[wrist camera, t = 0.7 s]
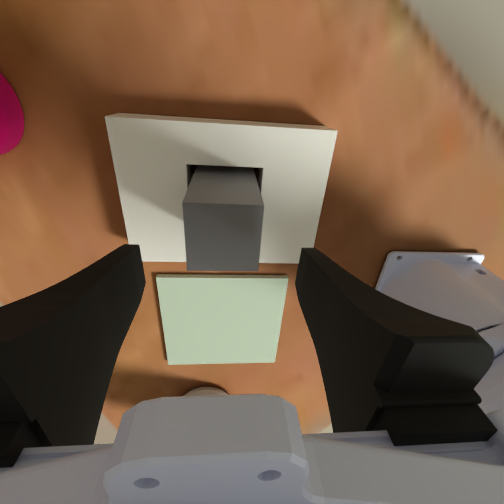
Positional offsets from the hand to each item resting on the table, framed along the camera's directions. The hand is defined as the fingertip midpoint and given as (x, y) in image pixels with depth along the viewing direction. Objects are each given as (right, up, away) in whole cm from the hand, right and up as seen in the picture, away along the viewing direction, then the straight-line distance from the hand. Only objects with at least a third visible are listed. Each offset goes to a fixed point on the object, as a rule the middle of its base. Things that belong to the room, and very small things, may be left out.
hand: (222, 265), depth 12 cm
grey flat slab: (-1, +5, +9) cm, 10 cm away
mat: (-2, -7, +16) cm, 17 cm away
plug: (-1, +5, +9) cm, 10 cm away
